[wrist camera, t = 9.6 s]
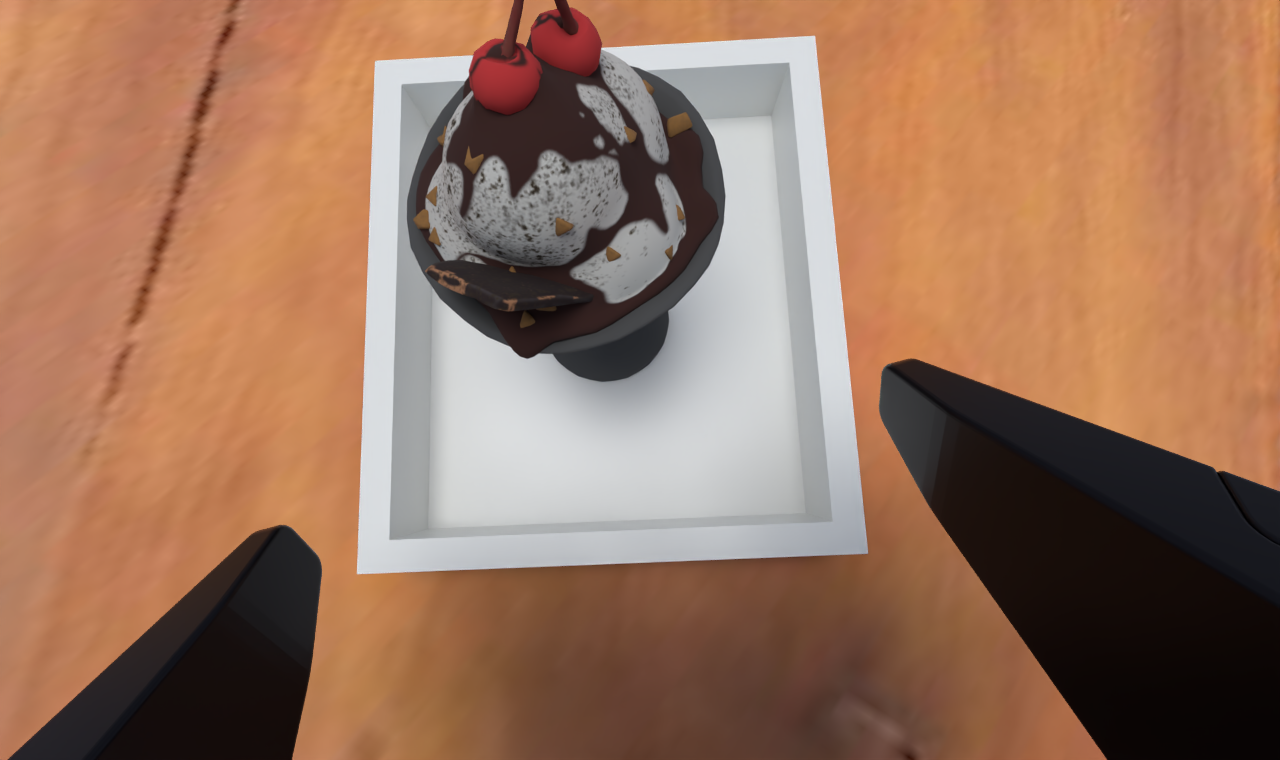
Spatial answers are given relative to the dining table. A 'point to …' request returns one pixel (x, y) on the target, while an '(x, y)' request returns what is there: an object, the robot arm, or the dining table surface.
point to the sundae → (566, 199)
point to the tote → (638, 405)
